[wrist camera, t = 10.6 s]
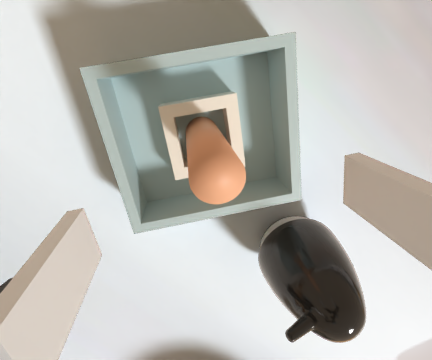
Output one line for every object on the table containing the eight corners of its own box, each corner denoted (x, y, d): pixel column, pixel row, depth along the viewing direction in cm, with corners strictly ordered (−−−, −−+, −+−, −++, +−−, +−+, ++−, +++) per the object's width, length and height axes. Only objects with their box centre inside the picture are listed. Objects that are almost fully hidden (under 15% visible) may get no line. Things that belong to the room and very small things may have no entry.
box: (141, 207, 33) (134, 233, 27) (100, 69, 27) (79, 67, 21) (281, 179, 34) (301, 199, 28) (272, 40, 28) (295, 31, 22)
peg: (182, 119, 29) (183, 156, 16) (215, 113, 29) (242, 145, 16) (189, 151, 30) (194, 209, 17) (220, 145, 30) (249, 198, 17)
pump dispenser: (244, 215, 35) (286, 308, 21) (319, 197, 36) (409, 276, 21) (255, 274, 39) (296, 385, 25) (322, 257, 39) (400, 357, 25)
